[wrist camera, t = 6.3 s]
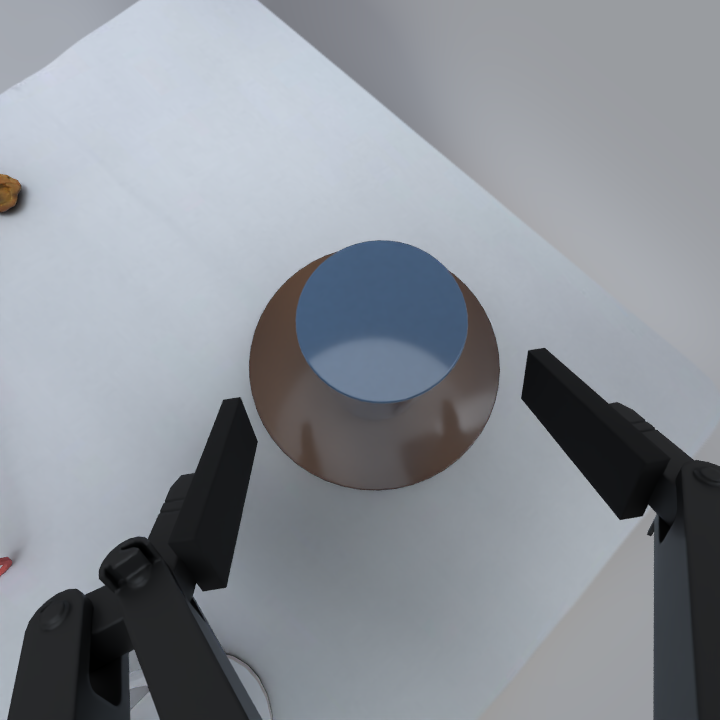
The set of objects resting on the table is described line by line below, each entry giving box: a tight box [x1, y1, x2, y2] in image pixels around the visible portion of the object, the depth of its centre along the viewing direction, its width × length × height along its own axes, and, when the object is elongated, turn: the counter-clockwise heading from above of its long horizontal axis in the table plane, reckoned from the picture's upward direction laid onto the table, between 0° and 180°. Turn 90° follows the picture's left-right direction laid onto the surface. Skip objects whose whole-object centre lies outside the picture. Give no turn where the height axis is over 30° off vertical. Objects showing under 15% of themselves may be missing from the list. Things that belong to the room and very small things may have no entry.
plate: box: [249, 252, 500, 490], centre depth 26 cm, size 18×18×2 cm
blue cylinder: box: [295, 240, 468, 421], centre depth 19 cm, size 7×7×11 cm
